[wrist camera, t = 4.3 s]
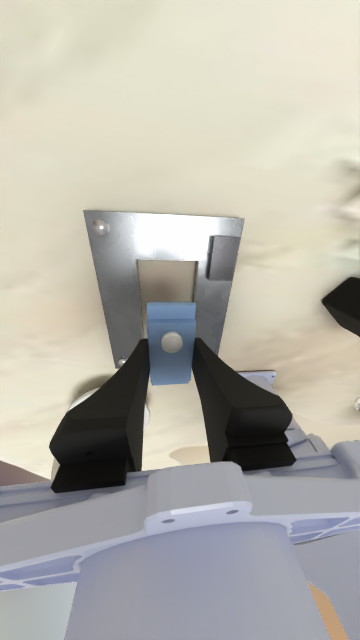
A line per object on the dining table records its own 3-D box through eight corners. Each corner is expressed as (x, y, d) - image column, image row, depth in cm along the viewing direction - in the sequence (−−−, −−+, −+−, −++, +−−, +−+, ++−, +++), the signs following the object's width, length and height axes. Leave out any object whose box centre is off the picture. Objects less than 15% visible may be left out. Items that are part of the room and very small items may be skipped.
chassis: (213, 358, 25) (218, 369, 23) (117, 362, 24) (113, 374, 22) (239, 218, 16) (249, 218, 14) (88, 211, 15) (77, 209, 13)
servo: (184, 360, 17) (190, 395, 14) (153, 361, 17) (151, 397, 13) (189, 289, 14) (199, 313, 10) (149, 289, 13) (145, 314, 10)
